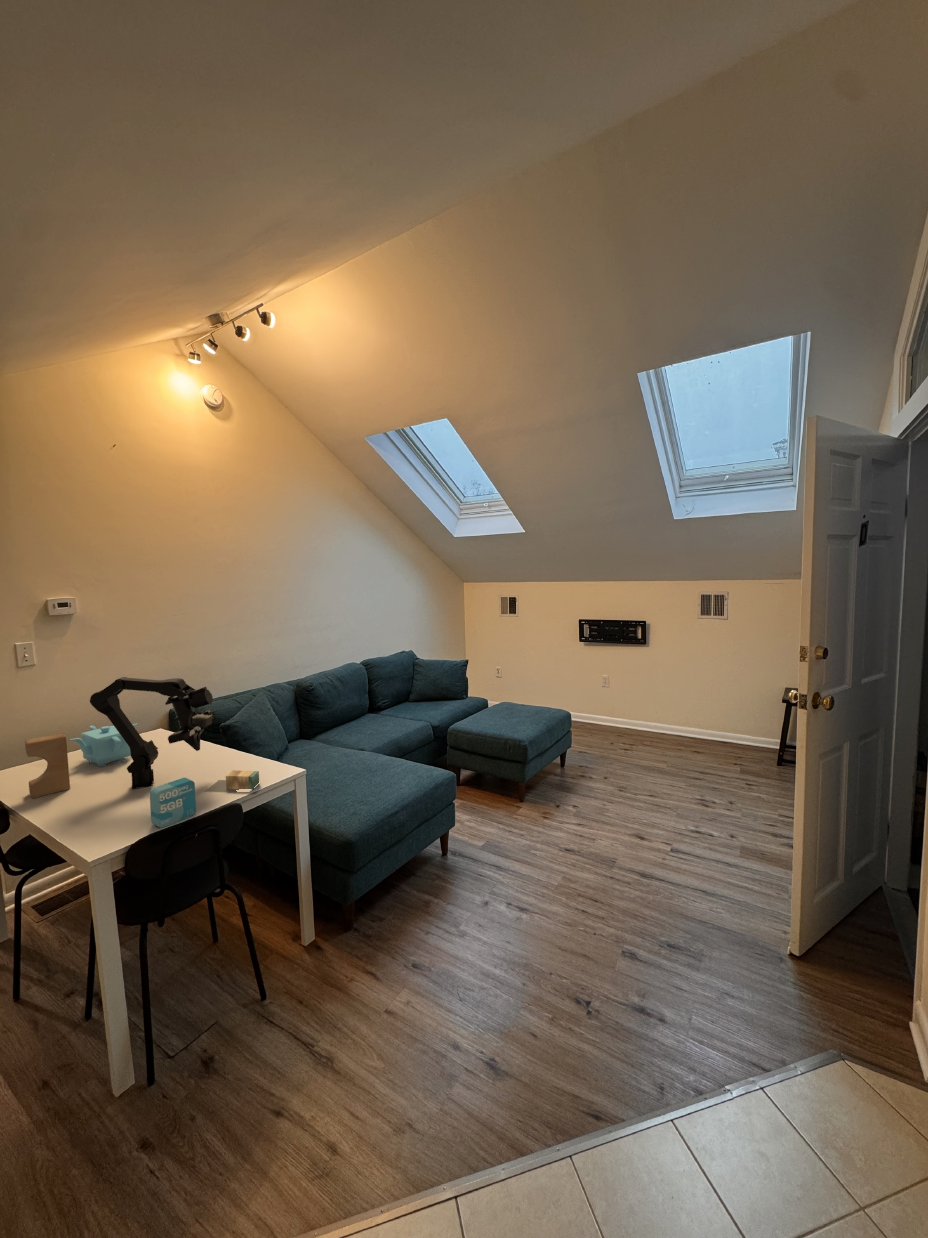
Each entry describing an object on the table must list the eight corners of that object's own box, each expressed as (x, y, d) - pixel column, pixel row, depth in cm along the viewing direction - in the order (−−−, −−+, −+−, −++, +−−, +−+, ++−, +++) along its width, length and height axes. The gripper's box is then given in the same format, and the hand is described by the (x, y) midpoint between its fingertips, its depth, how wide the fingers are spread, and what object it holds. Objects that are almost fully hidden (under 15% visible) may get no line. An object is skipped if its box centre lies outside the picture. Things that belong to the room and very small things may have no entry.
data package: (158, 829, 158) (155, 792, 157) (151, 825, 161) (148, 789, 159) (196, 814, 168) (194, 779, 167) (189, 810, 171) (187, 776, 169)
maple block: (225, 775, 185) (252, 776, 185) (232, 770, 190) (258, 771, 190) (226, 789, 186) (252, 790, 185) (233, 783, 191) (259, 784, 190)
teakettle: (122, 767, 207) (120, 732, 205) (69, 771, 203) (66, 735, 201) (140, 751, 225) (138, 718, 224) (92, 754, 221) (90, 721, 219)
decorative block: (30, 799, 179) (25, 743, 177) (29, 793, 183) (24, 739, 181) (70, 789, 186) (66, 736, 184) (68, 784, 190) (64, 732, 188)
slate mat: (203, 792, 184) (203, 791, 184) (219, 781, 194) (218, 780, 194) (249, 794, 183) (249, 793, 183) (262, 782, 193) (262, 781, 193)
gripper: (188, 715, 180) (203, 756, 182) (217, 699, 198) (230, 736, 200) (160, 722, 181) (175, 763, 183) (191, 705, 199) (205, 742, 201)
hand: (198, 750), depth 192 cm, fingers closed
